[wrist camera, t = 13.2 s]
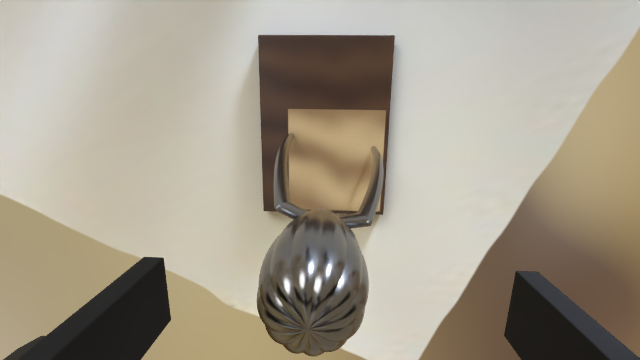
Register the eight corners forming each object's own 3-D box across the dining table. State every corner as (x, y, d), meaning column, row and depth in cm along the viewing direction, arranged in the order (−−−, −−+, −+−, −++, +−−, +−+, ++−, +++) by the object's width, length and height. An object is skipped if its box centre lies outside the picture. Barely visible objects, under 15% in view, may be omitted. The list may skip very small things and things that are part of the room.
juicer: (320, 212, 42) (281, 465, 13) (288, 133, 39) (150, 220, 10) (390, 187, 40) (529, 406, 11) (361, 104, 38) (441, 110, 9)
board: (261, 37, 38) (257, 34, 37) (392, 37, 38) (395, 34, 36) (266, 207, 44) (263, 211, 42) (381, 211, 43) (383, 215, 41)
